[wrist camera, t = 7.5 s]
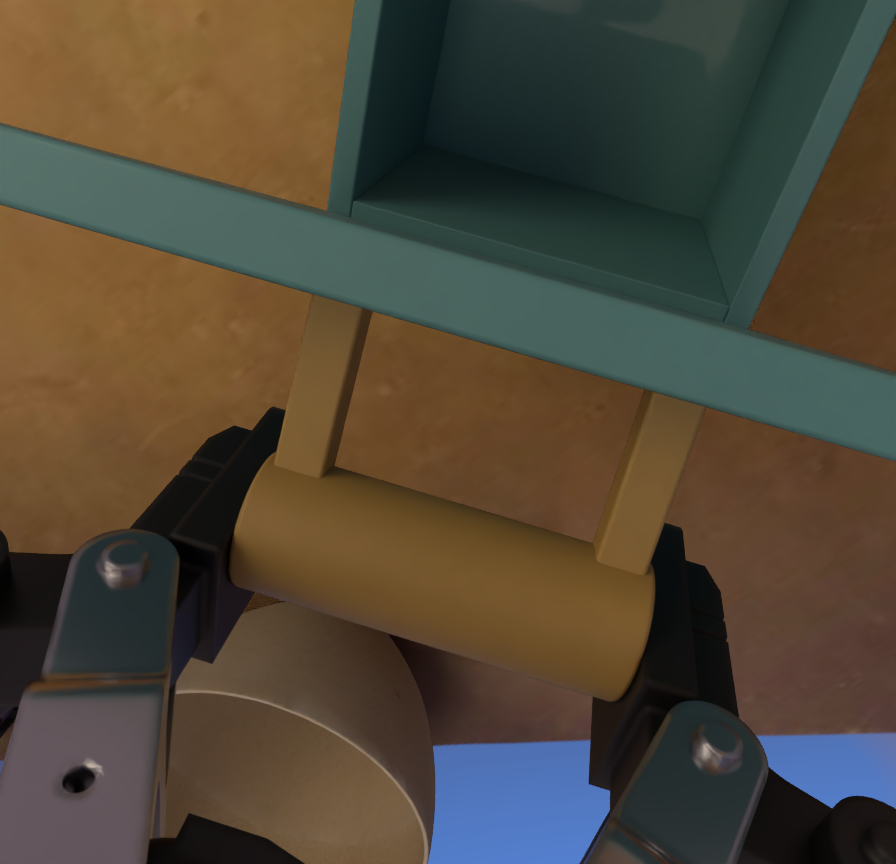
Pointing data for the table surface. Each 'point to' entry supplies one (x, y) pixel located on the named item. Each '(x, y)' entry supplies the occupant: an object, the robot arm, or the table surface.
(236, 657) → the beige bowl
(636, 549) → the lid
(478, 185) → the chest
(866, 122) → the table surface
